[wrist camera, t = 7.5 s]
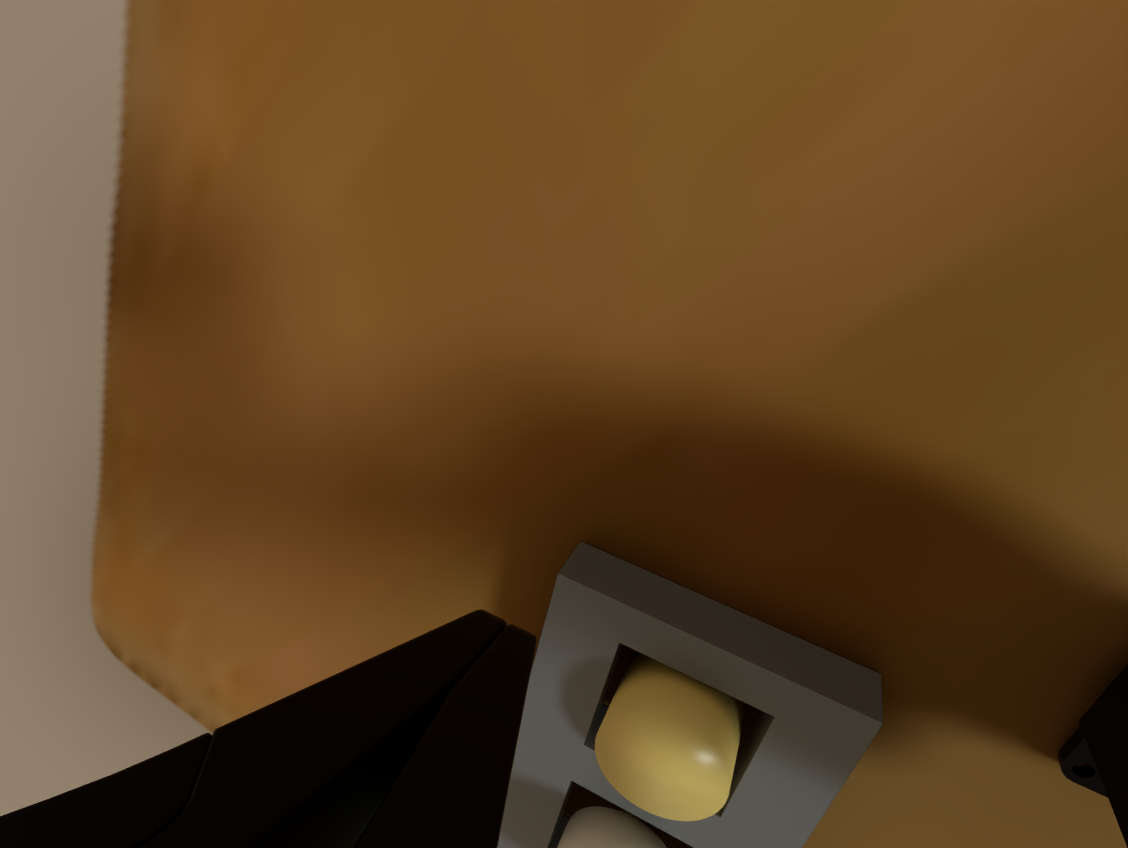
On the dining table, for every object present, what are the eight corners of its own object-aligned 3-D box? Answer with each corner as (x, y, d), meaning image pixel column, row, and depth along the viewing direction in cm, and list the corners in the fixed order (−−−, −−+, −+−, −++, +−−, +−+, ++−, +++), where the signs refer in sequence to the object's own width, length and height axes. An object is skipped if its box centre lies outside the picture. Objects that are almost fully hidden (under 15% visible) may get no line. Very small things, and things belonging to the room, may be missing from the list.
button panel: (881, 674, 20) (883, 723, 18) (672, 1011, 30) (660, 1063, 28) (581, 541, 22) (557, 573, 21) (480, 892, 32) (460, 933, 31)
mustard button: (763, 683, 21) (750, 756, 18) (721, 766, 23) (704, 842, 20) (641, 626, 22) (613, 688, 20) (611, 710, 24) (581, 776, 21)
